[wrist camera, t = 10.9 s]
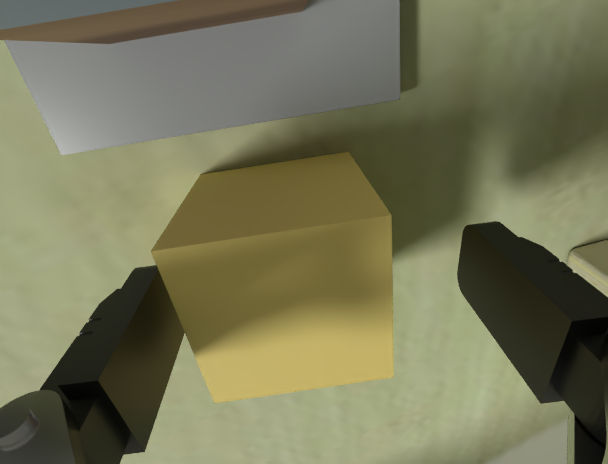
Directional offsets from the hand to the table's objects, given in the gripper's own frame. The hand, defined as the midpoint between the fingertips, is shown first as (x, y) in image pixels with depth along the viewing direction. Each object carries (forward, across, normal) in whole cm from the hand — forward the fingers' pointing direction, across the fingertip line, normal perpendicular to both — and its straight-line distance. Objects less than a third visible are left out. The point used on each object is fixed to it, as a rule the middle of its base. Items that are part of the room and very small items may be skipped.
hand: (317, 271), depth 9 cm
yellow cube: (+3, +1, 0) cm, 4 cm away
